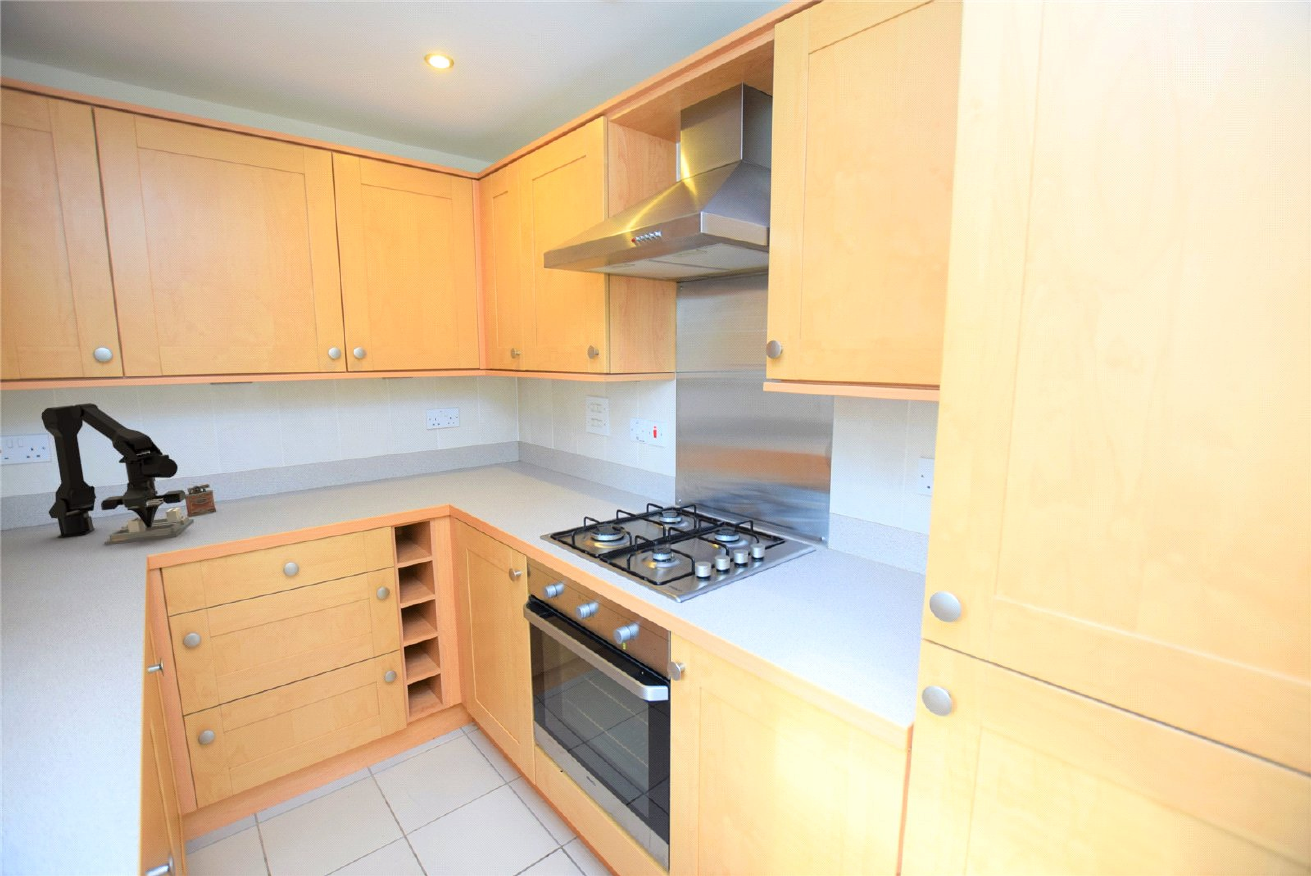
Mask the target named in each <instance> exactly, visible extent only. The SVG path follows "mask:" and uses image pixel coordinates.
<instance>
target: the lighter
mask: <svg viewBox="0 0 1311 876" xmlns="http://www.w3.org/2000/svg"><path fill="white" fill-rule="evenodd" d="M210 488H211V485H210V484H209V483H205V484H201V485H197V484H196V485H193V486H191V487H188V488H187V492H188V493H185V494H186V498H185V499H184V501H185V505H186V512H187V513H186V516H188V518H193V517H198V516H199V517H200V516H203V515H207V514H208V513H209V514H213V513H216V512H217V509H216V505H215V498H214V490H213V489H210Z"/></svg>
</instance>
